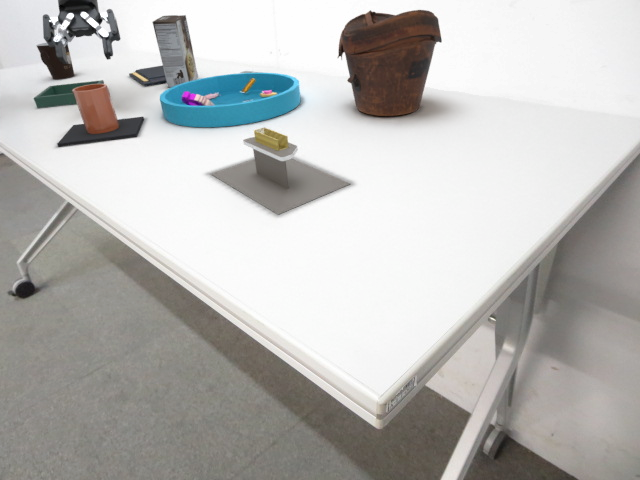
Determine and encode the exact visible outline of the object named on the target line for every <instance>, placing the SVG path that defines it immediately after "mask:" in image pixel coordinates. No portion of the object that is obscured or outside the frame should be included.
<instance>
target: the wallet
mask: <svg viewBox="0 0 640 480" xmlns="http://www.w3.org/2000/svg"><path fill="white" fill-rule="evenodd" d="M128 75H129V77H130V78H131V79H133V80H135V81H136V82H138V84H141V85H142V86H143V87H152V86H157V85H163V84H167V81H166V77H165V73H164V68H163V64H162V65H156V66H151V67H144V68H139V69H135V70H134V72H130V73H129V74H128Z"/></svg>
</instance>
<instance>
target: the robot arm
mask: <svg viewBox="0 0 640 480" xmlns="http://www.w3.org/2000/svg"><path fill="white" fill-rule="evenodd" d="M57 4H58V11H59V12H58V15H57V16H51V17H50V15H49V14H43V15H42V30H43V39H44V41H45V43H48V45H49V46H50V47H55V49H56V56H57V57H58V59H59V60H60V62H61V61H62V63H63V64H67V63H68V62H67V55H66V49H65V46H66V45H67V43H71V42H72V41H73V40H74V39H75V38H82V37H92V36H93V35H95V36H96V37H98V38H99V40H101V43H102V49H103V54H104V57H105V59H106V60H107V61H108V60H111V59H112V58H111V57H113V56H114V51H113V45H112V44H113V42H115V41H116V42H119V41H121V34H120V30H119V25H118V21H117V18H116V15H115V13H114V11H113V9H112V8H108V9H107V10H106V12H100V11H99V3H98V0H57ZM103 21H105V22H106V24H108V25H109V29H110V31H109V32H108V31H106V30H105V29H104V28H103V27H102V26H101V24H102V23H103ZM58 25H59V27H58ZM57 27H58V29H57ZM56 30H57V33H55V31H56Z"/></svg>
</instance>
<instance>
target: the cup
mask: <svg viewBox="0 0 640 480" xmlns="http://www.w3.org/2000/svg"><path fill="white" fill-rule="evenodd" d="M72 91H73V94H74V97H75V100H76V103H77V104H76V106H77V108H78V111H79V114H80V116H81V119H82V124H84V125H85V128H86V130H87V133H89V134H101V133H107V132H110V131H113V130H116V129H117V128H119V122H118V120H119V119H118V117H117V113H116V110H115V107H114V103H113V99H112V96H111V93H110V91H109V87H108V85H107V83H104V84H90V85H84V86H80V87H77V88H74V89H73V90H72Z"/></svg>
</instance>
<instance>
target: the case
mask: <svg viewBox="0 0 640 480" xmlns="http://www.w3.org/2000/svg"><path fill="white" fill-rule="evenodd" d="M338 41H339V42H338V55H337V59H339V57H340V58H341V60H343V55H344V56H345V61H346V66H347V70H348V74H349V77H348V78H347V83H349V84H351V89H352V94H353V98H354V103H355V107H356V109H357V110H358V111H359V112H361V113H364V114H367V115H371V116H376V117H394V116H403V115H408V114H411V113H414V112H416V111H417V110H419V108H420V106H421V102H422V98H423V96H424V95H423V94H424V90H425V87H426V84H427V79H428V75H429V72H430V67H431V64H432V60H433V56H434V51H435V47H436V45H437V43H442V41H443V40H442V35H441V29H440V23H439V18H438V17H437V16H436V15H435V13H434V12H432V11H430V10H428V9H427V10H425V9H416V10H407V11H404V12H400V13H398V14H390V13H383V12H376V11H372V10H369V11H367V12H366V13H362V14H359V15H357V16H355V17H353V18H351V19H350V20H349V21H348V22H347V23H346V24H345V25H344V28H343V29H342V30H341V33H340V37H339V40H338Z"/></svg>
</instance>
